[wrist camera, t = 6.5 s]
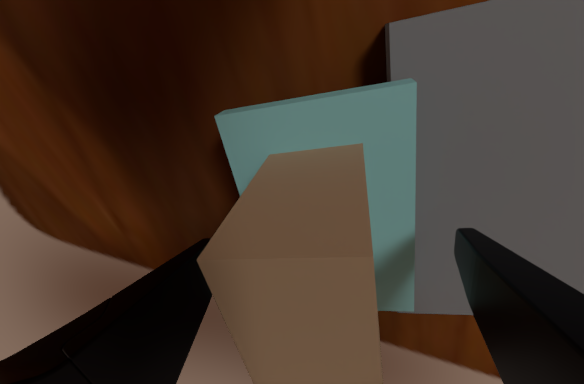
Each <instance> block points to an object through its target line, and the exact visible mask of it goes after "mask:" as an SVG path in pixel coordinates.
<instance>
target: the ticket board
mask: <svg viewBox="0 0 584 384" xmlns="http://www.w3.org/2000/svg"><path fill="white" fill-rule="evenodd" d="M385 42H386V70H387V82H391V81H397V80H403V79H409V78H412V79H413V80H415V81H416V82H417V107H416V193H415V278H414V312H411V311H397V312H398V313H425V314H458V315H473V313H472V310H471V308H470V305H469V303H468V300H467V296H466V293H465V290H464V286H463V283H462V280H461V276H460V273H459V270H458V266H457V263H456V260H455V256H454V244H455V234H456V230H457V229H458V228H474V229H476V230H478V231H479V232H481V233H483V234H484V235H486V236H488V237H489V238H491V239H493V240H494V241H496V242H498V243H499V244H501V245H503V246H504V247H506V248H508V249H509V250H511V251H513V252H514V253H516V254H518V255H520V256H521V257H523V258H525V259H526V260H528V261H530V262H531V263H533V264H535V265H536V266H538V267H540V268H541V269H543V270H545V271H546V272H548V273H550V274H551V275H553V276H555V277H556V278H558V279H560V280H561V281H563V282H565V283H566V284H568V285H570V286H571V287H573V288H575V289H576V290H578V291H580V292H581V293H583V294H584V0H490V1H486V2H481V3H477V4H472V5H468V6H463V7H459V8H454V9H450V10H445V11H441V12H437V13H432V14H428V15H423V16H419V17H414V18H410V19H405V20H401V21H396V22H392V23H388V24H385Z"/></svg>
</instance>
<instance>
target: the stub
mask: <svg viewBox="0 0 584 384" xmlns="http://www.w3.org/2000/svg"><path fill="white" fill-rule="evenodd" d="M416 107H417V82H416V81H415V80H413V79H412V78H409V79H403V80H397V81H391V82H386V83H380V84H374V85H368V86H362V87H357V88H351V89H345V90H339V91H333V92H328V93H322V94H316V95H310V96H304V97H299V98H293V99H287V100H281V101H275V102H270V103H264V104H258V105H252V106H246V107H241V108H235V109H229V110H224V111H222V112H221V113H219V114H217V115H215V116H214V117H215V120H216V123H217V126H218V129H219V132H220V136H221V139H222V142H223V145H224V148H225V151H226V154H227V157H228V160H229V163H230V167H231V170H232V173H233V176H234V179H235V182H236V185H237V188H238V191H239V194H240V198H239V199H238V201H237V202H236V203H235V205H234V206H233V208H232V209H231V211H230V212H229V214H228V215H227V216H226V218H225V219H224V221H223V222H222V224H221V225H220V227H219V228H218V230H217V231H216V232H215V234H214V235H213V237H212V238H211V240H210V241H209V243H208V244H207V245H206V247H205V248H204V250H203V251H202V253H201V254H200V256H199V257H198V258H197V262H198V264H199V267H200V269H201V271H202V273H203V275H204V277H205V280H206V282H207V284H208V286H209V288H210V290H211V293H212V295H213V297H214V299H215V301H216V303H217V306H218V308H219V310H220V312H221V314H222V316H223V319H224V321H225V323H226V325H227V327H228V329H229V331H230V334H231V336H232V338H233V340H234V342H235V345H236V347H237V349H238V351H239V353H240V355H241V358H242V360H243V362H244V364H245V366H246V368H247V371H248V373H249V375H250V377H251V379H252V381H253V384H383V375H382V363H381V349H380V336H379V324H378V311H411V312H414V278H415V193H416Z"/></svg>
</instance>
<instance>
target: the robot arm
mask: <svg viewBox="0 0 584 384" xmlns="http://www.w3.org/2000/svg"><path fill="white" fill-rule="evenodd" d="M210 240H211V238H205V239H202V240H201V241H199V242H197V243H196V244H194V245H193V246H191V247H189V248H188V249H186V250H185V251H183V252H182V253H180V254H178V255H177V256H175V257H174V258H172V259H170V260H169V261H167V262H166V263H164V264H163V265H161V266H159V267H158V268H156V269H155V270H153V271H152V272H150V273H148V274H147V275H145V276H144V277H142V278H141V279H139V280H137V281H136V282H134V283H133V284H131V285H129V286H128V287H126V288H125V289H123V290H121V291H120V292H118V293H117V294H115V295H114V296H112V298H109V299H107V300H106V301H104V302H102V303H101V304H99V305H98V306H96V307H94V308H93V309H91V310H90V311H88V312H86V313H85V314H83V315H81V316H80V317H78V318H76V319H75V320H73V321H71V322H69V323H68V324H66V325H64V326H63V327H61V328H59V329H57V330H56V331H54V332H52V333H50V334H49V335H47V336H45V337H44V338H42V339H40V340H38V341H36V342H35V343H33V344H31V345H29V346H28V347H26V348H24V349H22V350H21V351H19V352H17V353H16V354H13V355H12V356H10V357H8V358H6V359H4V360H1V361H0V384H176V382H177V380H178V378H179V375H180V373H181V370H182V368H183V366H184V363H185V361H186V358H187V356H188V353H189V351H190V348H191V346H192V344H193V341H194V339H195V336H196V334H197V332H198V329H199V327H200V324H201V322H202V319H203V317H204V315H205V312H206V310H207V307H208V305H209V302H210V299H211V297H212V293H211V290H210V288H209V286H208V284H207V282H206V280H205V277H204V275H203V273H202V271H201V269H200V267H199V264H198V262H197V258H198V257H199V256H200V254H201V253H202V251H203V250H204V248H205V247H206V245H207V244H208V243H209V241H210ZM454 256H455V260H456V263H457V266H458V270H459V273H460V276H461V280H462V283H463V286H464V290H465V293H466V296H467V300H468V303H469V305H470V308H471V310H472V313H473V315H474V317H475V320H476V322H477V324H478V327H479V329H480V331H481V333H482V336H483V338H484V340H485V343H486V345H487V347H488V349H489V352H490V354H491V356H492V358H493V361H494V363H495V365H496V368H497V370H498V372H499V374H500V377H501V379H502V381H503V383H504V384H584V294H583V293H581V292H580V291H578V290H576V289H575V288H573V287H571V286H570V285H568V284H566V283H565V282H563V281H561V280H560V279H558V278H556V277H555V276H553V275H551V274H550V273H548V272H546V271H545V270H543V269H541V268H540V267H538V266H536V265H535V264H533V263H531V262H530V261H528V260H526V259H525V258H523V257H521V256H520V255H518V254H516V253H514V252H513V251H511V250H509V249H508V248H506V247H504V246H503V245H501V244H499V243H498V242H496V241H494V240H493V239H491V238H489V237H488V236H486V235H484V234H483V233H481V232H479V231H478V230H476V229H474V228H458V229H457V230H456V234H455V244H454Z"/></svg>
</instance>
